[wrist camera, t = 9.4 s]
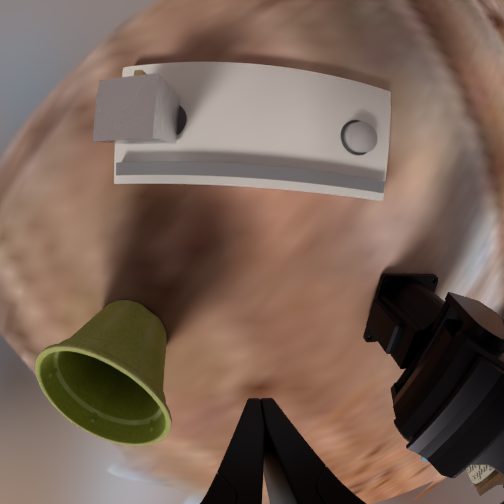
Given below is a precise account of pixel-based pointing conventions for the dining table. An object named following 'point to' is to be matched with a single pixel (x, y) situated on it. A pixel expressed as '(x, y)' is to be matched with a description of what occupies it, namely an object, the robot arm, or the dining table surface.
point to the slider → (136, 110)
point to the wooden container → (484, 477)
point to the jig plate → (266, 131)
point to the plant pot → (111, 376)
